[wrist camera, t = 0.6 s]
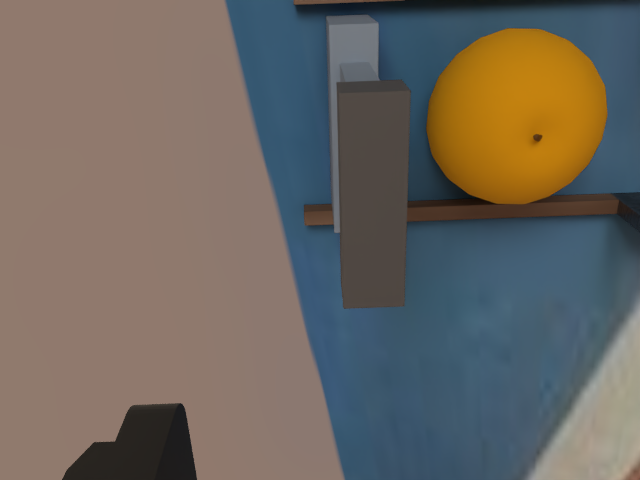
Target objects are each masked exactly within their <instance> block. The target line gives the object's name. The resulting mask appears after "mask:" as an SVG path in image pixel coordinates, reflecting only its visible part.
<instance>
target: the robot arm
mask: <svg viewBox="0 0 640 480" xmlns="http://www.w3.org/2000/svg"><path fill="white" fill-rule="evenodd" d="M62 480H197V477H196V470H195V464H194V458H193V452H192V446H191V440H190V434H189V429H188V423H187V418H186V412H185V408H184V406H183V405H182V404H181V403H177V404H152V405H133V406H131V407H130V409H129V410H128V412H127V414H126V416H125V419H124V421H123V424H122V426H121V428H120V431H119V433H118V436H117V438H116V441H115V442H94V443H93V444H92V445H91V446H90V447H89V448H88V449H87V450H86V451H85V452H84V453H83V454H82V455H81V456H80V457H79V458H78V459H77V460H76V461H75V462H74V463H73V464H72V466H71V467H69V468H68V470H67V471H66V473H65V475H64V477H63V479H62Z"/></svg>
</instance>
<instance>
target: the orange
mask: <svg viewBox="0 0 640 480" xmlns="http://www.w3.org/2000/svg"><path fill="white" fill-rule="evenodd" d="M606 119H607V102H606V90H605V85H604V83H603V81H602V79H601V77H600V76H599V74H598V72H597V70H596V68H595V66H594V64H593V63H592V61H591V60H590V59H589V58H588V57H587V56H586V55H585V54H584V53H583V52H582V51H580V50H579V49H578V48H577V47H576V46H575V45H574V44H573V43H571V42H570V41H568V40H567V39H564V38H562V37H559V36H557V35H554V34H552V33H549V32H546V31H544V30H541V29H518V28H507V29H504V30H501V31H499V32H496V33H493V34H490V35H487V36H484V37H481V38H479V39H478V40H476V41H475V42H474V43H472V44H471V45H469V46H468V47H467V48H465V49H464V50H462V51H461V52H460V53H458V54H457V55H456V56H455V57H454V58H453V60H452V61H451V62H450V63H449V65H448V66H447V67H446V68H445V69H444V71H443V72H442V73H441V74H440V76H439V77H438V80H437V82H436V85H435V87H434V90H433V92H432V95H431V97H430V100H429V106H428V116H427V126H426V130H427V135H428V140H429V145H430V149H431V153H432V156H433V158H434V159H435V161H436V162H437V164H438V165H439V167H440V168H441V170H442V171H443V173H444V174H445V176H446V177H447V178H448V179H449V180H450V181H452V182H453V183H454V184H456V185H457V186H459V187H460V188H461V189H463V190H464V191H465V192H467V193H468V194H469V195H472V196H475V197H478V198H481V199H484V200H487V201H490V202H493V203H496V204H527V203H530V202H533V201H537V200H540V199H543V198H546V197H549V196H550V195H552V194H554V193H555V192H557V191H558V190H560V189H562V188H563V187H565V186H566V185H568V184H570V183H571V182H572V181H573V180H574V179H575V178H576V177H577V176H578V175H579V174H580V172H581V171H582V170H583V169H584V168H585V167H586V166H587V165H588V164H589V163H590V161H591V159H592V157H593V155H594V153H595V151H596V149H597V148H598V146H599V144H600V142H601V140H602V137H603V132H604V128H605V124H606Z"/></svg>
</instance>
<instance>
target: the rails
mask: <svg viewBox="0 0 640 480" xmlns="http://www.w3.org/2000/svg"><path fill="white" fill-rule="evenodd" d="M377 1H403V0H294V5H298V4H325V3H351V2H377ZM618 203H619V199H617V198H616V197H615V196H613V195H612V194H611V193H610V194H584V195H558V196H549V197H546V198H543V199H540V200H537V201H533V202H530V203H527V204H496V203H493V202H490V201H487V200H484V199H481V198H478V199H452V200H426V201H407V222H409V221H436V220H462V219H488V218H515V217H541V216H568V215H594V214H617V208H618ZM304 222H305V225H330V224H334V222H333V211H332V204H320V205H304Z"/></svg>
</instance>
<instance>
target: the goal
mask: <svg viewBox="0 0 640 480" xmlns="http://www.w3.org/2000/svg"><path fill="white" fill-rule="evenodd" d="M611 194H612V195H613V196H615V197H616V198H617V199H619V203H618V208H617V214H618V215H619V216H620V217H621V218H623V219H624V220H625V221H626V222H628V223H629V224H630V225H631V226H633V227H634V228H635V229H636V230H638V231H639V232H640V192H637V193H611Z"/></svg>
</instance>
